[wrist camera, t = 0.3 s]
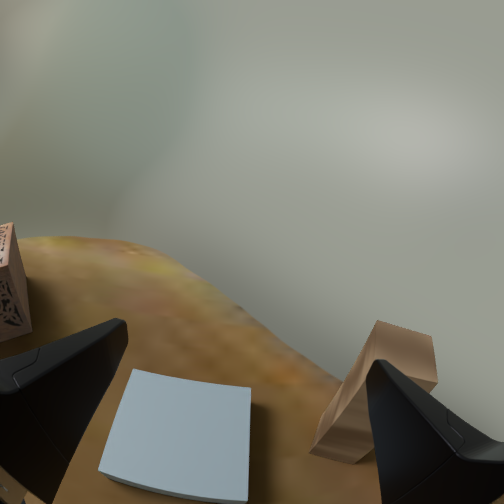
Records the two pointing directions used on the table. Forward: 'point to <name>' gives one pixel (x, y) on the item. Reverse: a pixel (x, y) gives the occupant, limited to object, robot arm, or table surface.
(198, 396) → the slate base
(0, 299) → the tissue box cover
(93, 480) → the table surface
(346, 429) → the walnut block
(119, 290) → the table surface
